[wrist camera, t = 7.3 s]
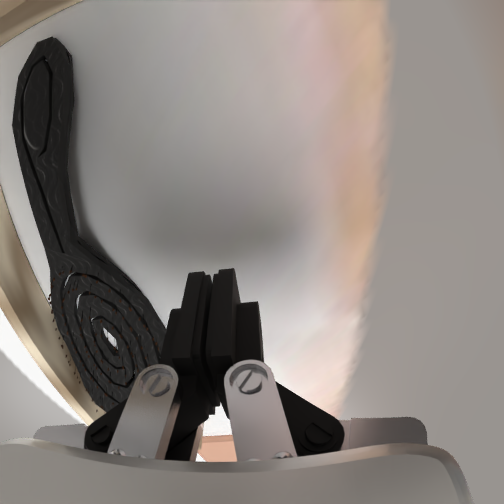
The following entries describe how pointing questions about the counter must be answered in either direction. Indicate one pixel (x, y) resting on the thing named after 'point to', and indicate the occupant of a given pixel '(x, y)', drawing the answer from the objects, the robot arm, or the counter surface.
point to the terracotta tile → (218, 449)
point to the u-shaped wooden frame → (18, 268)
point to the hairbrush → (77, 241)
